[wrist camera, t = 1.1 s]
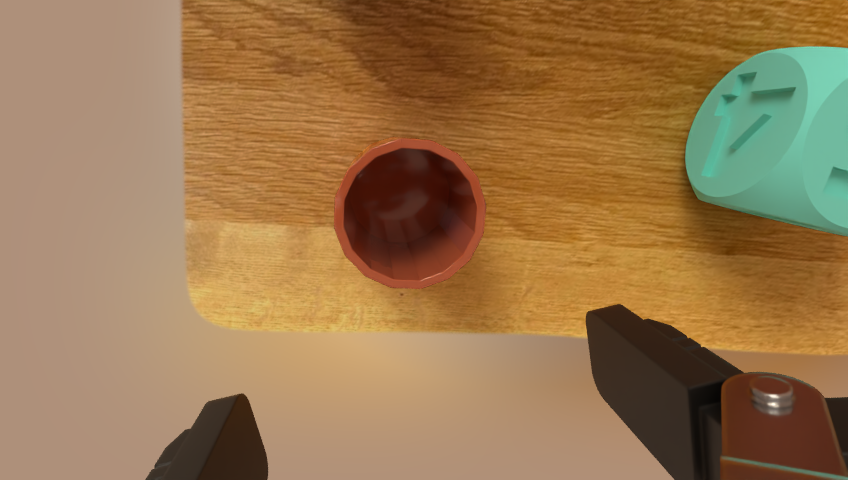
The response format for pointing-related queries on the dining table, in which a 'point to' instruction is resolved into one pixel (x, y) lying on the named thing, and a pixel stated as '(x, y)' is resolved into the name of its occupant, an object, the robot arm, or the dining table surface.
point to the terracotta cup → (409, 212)
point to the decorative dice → (777, 139)
